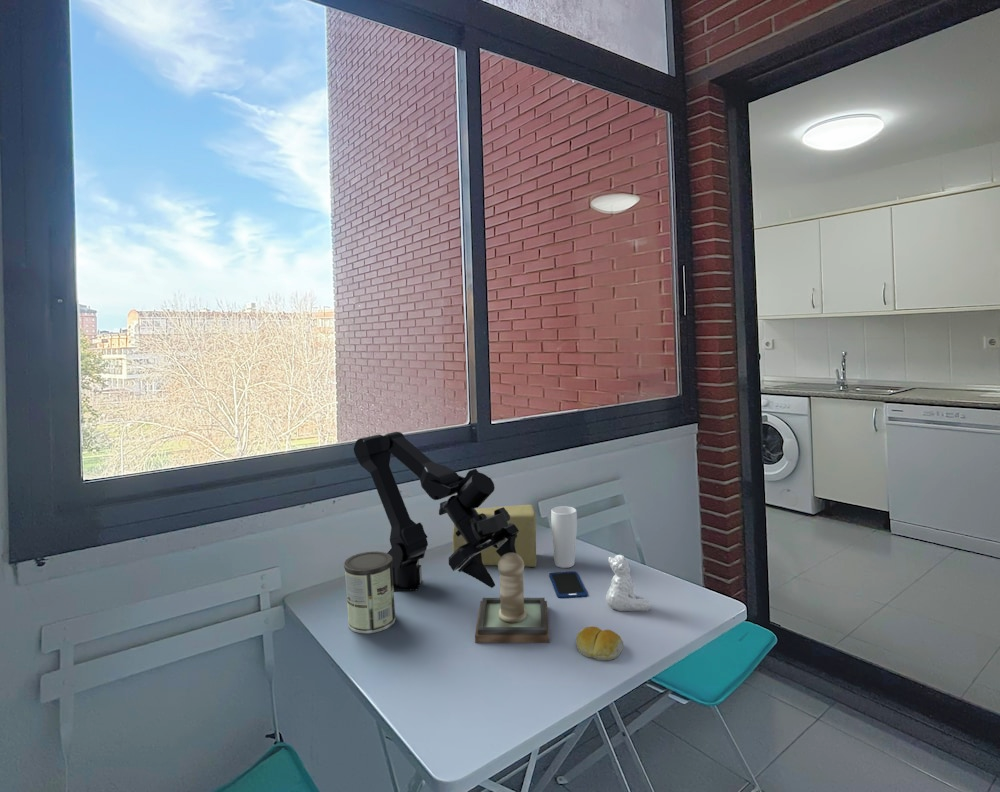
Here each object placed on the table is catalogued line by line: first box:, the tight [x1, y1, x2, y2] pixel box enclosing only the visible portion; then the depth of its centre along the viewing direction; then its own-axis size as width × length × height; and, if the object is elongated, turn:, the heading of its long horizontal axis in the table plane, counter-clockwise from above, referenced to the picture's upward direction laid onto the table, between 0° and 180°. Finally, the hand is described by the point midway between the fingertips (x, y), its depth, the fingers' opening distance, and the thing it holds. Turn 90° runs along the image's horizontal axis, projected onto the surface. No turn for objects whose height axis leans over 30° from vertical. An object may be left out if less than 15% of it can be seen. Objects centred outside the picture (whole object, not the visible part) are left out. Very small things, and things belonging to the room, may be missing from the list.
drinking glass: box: [550, 505, 578, 569], centre depth 157 cm, size 7×7×15 cm
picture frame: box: [474, 597, 550, 644], centre depth 127 cm, size 15×15×2 cm
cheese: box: [452, 504, 537, 568], centre depth 160 cm, size 22×10×15 cm, turn 92°
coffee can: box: [343, 551, 396, 634], centre depth 129 cm, size 10×10×14 cm
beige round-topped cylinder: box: [497, 553, 527, 623], centre depth 127 cm, size 6×6×14 cm
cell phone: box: [548, 570, 589, 599], centre depth 146 cm, size 7×14×1 cm, turn 4°
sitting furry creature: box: [605, 554, 651, 612], centre depth 134 cm, size 10×9×12 cm
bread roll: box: [575, 625, 624, 661], centre depth 117 cm, size 8×9×4 cm
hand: (506, 578), depth 127 cm, fingers open, 9 cm apart
